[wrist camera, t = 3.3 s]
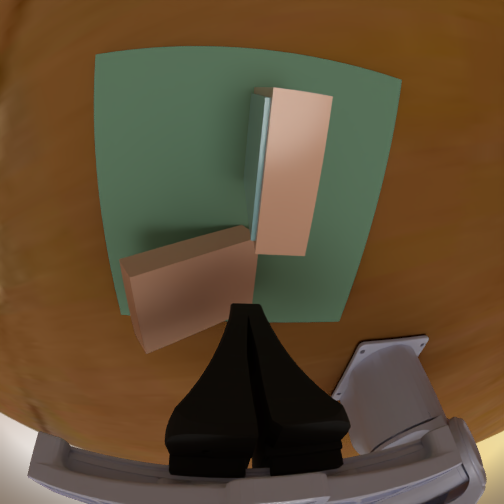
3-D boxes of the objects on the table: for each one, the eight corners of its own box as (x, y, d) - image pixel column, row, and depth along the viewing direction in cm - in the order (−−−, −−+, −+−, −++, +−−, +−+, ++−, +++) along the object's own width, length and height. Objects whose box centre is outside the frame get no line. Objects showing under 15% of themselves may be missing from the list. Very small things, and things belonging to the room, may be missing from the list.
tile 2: (275, 184, 15) (304, 256, 9) (242, 181, 15) (250, 253, 9) (287, 90, 13) (332, 96, 7) (251, 86, 13) (267, 86, 7)
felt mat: (337, 315, 22) (339, 321, 21) (123, 308, 20) (121, 314, 20) (396, 79, 13) (401, 80, 12) (100, 55, 11) (95, 54, 11)
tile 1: (251, 308, 18) (146, 353, 14) (234, 293, 19) (134, 332, 15) (260, 236, 16) (129, 277, 12) (240, 223, 17) (118, 257, 13)
